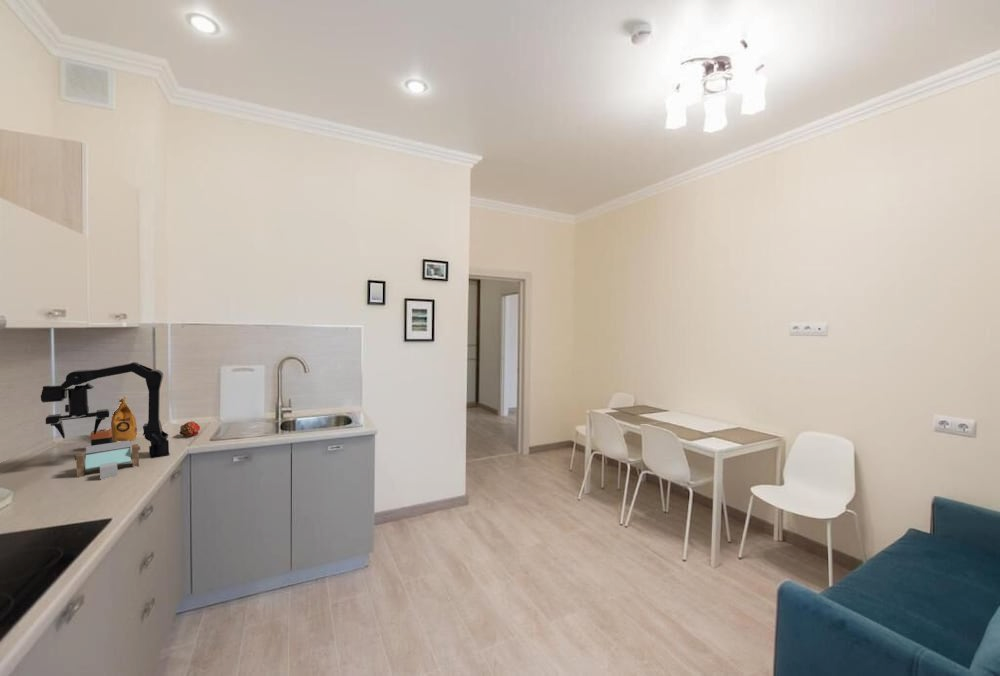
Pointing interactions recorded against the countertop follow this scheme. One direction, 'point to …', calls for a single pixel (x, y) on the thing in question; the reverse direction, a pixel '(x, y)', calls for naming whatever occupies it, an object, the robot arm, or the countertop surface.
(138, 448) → the trapdoor frame
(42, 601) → the countertop surface
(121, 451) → the trapdoor
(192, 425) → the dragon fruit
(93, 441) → the battery
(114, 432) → the coffee package
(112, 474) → the grey cube
